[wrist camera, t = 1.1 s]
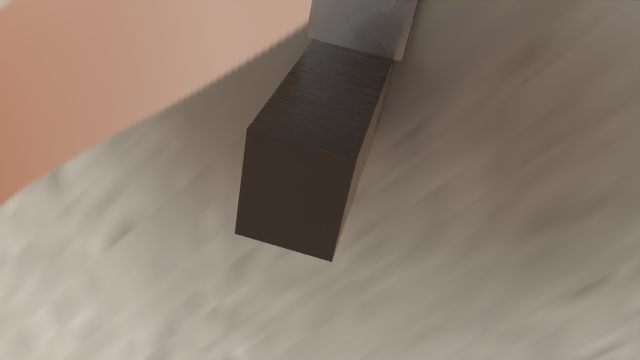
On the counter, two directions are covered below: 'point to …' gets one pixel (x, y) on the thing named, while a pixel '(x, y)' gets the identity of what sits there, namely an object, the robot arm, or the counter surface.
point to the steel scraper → (321, 126)
